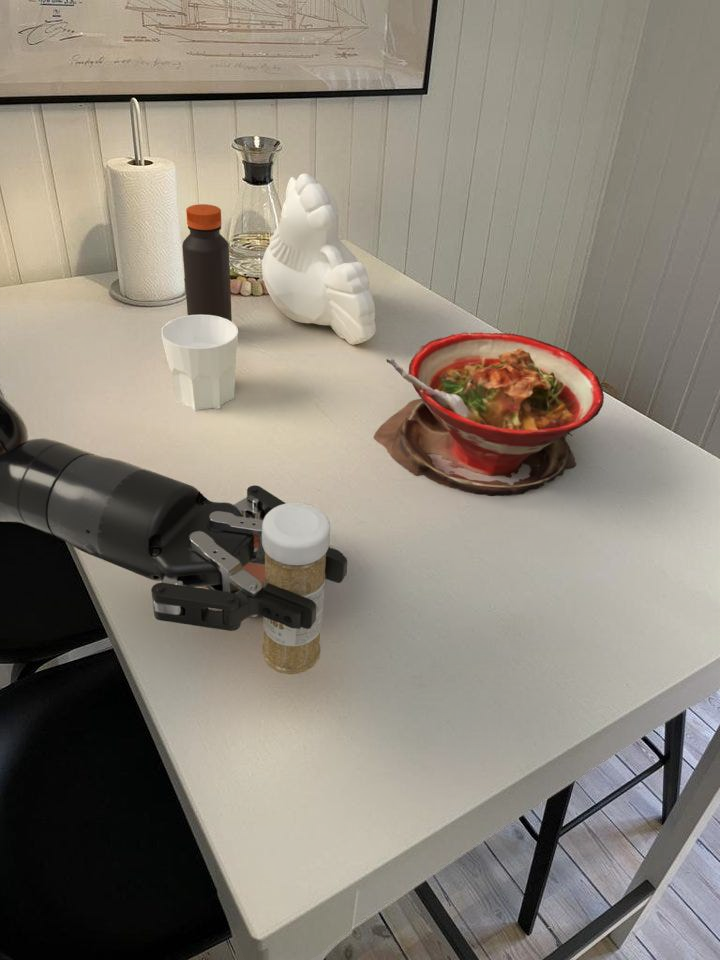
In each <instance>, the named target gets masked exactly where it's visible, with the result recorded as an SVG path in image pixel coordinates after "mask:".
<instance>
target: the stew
mask: <svg viewBox="0 0 720 960" xmlns="http://www.w3.org/2000/svg"><path fill="white" fill-rule="evenodd" d="M386 363H388V364H390V365H391V366H392V367H393V368H394V370H395V371H396V372H397V373H399V374H400V376H401V377H402V378H403V379H404V380H406V381H407V382H408V383H410V384H411V385H412V386H413V388H414V390H415V392H416V393H417V394H418V396H419V398H418V399H413V400H411V401H409V402H408V403H407V404H406V405H405V406H404V407H403V408H401V409H400V410H399V411H397V412H396V413H394V414H393V415H392V416H390V417H389V418H388V419H387V420H386V421H385V422H383V423H382V424H381V425H380V426H379V427H378V429H377V430H375V433H374V436H373V439H374V440H375V441H376V442H378V443H379V444H381V445H382V446H383V447H384V448H385V449H386V452H387V453H388V454H389V455H390V456H391V458H392V459H393V460H394V461H395V462H396V463H397V464H398V465H400V466H401V467H402V468H404V469H405V470H407V471H408V472H410V473H411V474H412V475H415V476H416V477H418V476H424V477H425V478H428V480H431V481H433V482H435V483H437V484H439V485H443V486H445V487H448V488H453V489H455V490H460V491H462V492H465V493H470V494H474V495H484V496H489V497H494V496H500V497H503V496H513V495H514V496H515V495H523V494H526V493H527V492H529V491H532V490H538V489H540V488H541V487H543V486H544V485H545V484H547V483H550V482H553V481H554V480H555V479H556V478H557V477H561V476H563V475H564V474H565V470H569V469H574V468H575V467H576V466H577V461H576V458H575V456H574V453H573V452H572V449H571V446H570V445H569V443H568V441H567V439H566V437H568V435H570V436H571V437H573V434H571V432H573V431H575V430H578V429H579V428H581V427H583V426H585V425H586V424H588V423H589V422H591V421H592V420H594V418H595V417H597V416H598V414H599V413H600V411H601V409H602V408H603V405H604V402H605V401H604V399H605V394H604V390H603V387H602V385H601V382H600V379H599V378H598V376H597V375H596V374H595V373H594V372H593V370H591V369H590V368H589V367H588V366H587V364H584V363H583V362H582V361H581V360H580V359H579V358H577V357H576V355H574V354H572V353H571V352H570V351H567V350H565V349H563V348H561V347H558V346H556V345H553V344H550V343H549V342H545V341H541V340H539V339H535V338H533V337H529V336H524V335H522V334H515V333H507V332H505V333H503V332H500V333H499V332H493V333H491V332H461V333H456V334H449V335H448V336H445V337H439V338H435V339H433V340H430V341H428V342H427V343H426V344H424V345H420V347H419V349H418V350H417V351H416V353H414V355H413V357H412V359H411V360H410V362H409V365H408V372H406V371H404V369H403V367H401V366H399V365H398V363H397V362H396V360H395V359H388V358H386ZM430 454H436V455H440V456H441V459H443V460H449V461H450V463H448V466H449V467H451V468H453V469H457V468H464V469H466V470H469V471H471V472H474V473H478V474H481V475H486V476H489V477H490V476H491V477H499V476H500V477H505V478H509V479H511V478H512V477H513V475H512V474H516V475H517V474H519V471H520V469H521V468H522V467H523V465H528V466H529V467H530V471H529V473H528V477H525V478H523V479H522V478H519V479H518V481H513V483H512V484H510V483H509V482H506V481H501V480H498V479H495V480H491V481H490V480H489V481H487V480H478V479H471V478H470V479H469V478H467V477H465V476H464V475H460V474H456V473H455V471H453V470H450V471H448V472H449V473H447V472H445V471H444V470H443V469H442V468H438V467H437V466H436V464H435V463H434V462H433V461H435V462H436V461H438V459H436V458H432V457H431V456H430Z"/></svg>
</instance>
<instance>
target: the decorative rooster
mask: <svg viewBox="0 0 720 960" xmlns="http://www.w3.org/2000/svg"><path fill="white" fill-rule="evenodd" d="M280 212H281V214H280V218H279V224H278V225H277V226H276V228H275V229H274V230H273V234H272V235H271V236H270V237H269V244H268V246H267V247H266V249H265V251H264V254H263V257H262V260H261V275H262V280H263V284H264V286H265V288H266V291H267V293H268V295H269V296H270V298H271V300H272V302H273V303H274V305H275V306H276V308H277V309H278V310H279V311H280V312H281V313H282V314H284V315H285V316H286V317H287V318H289V319H290V320H292V321H295V322H298V323H302V324H313V325H314V324H315V325H320V326H330V328H331V329H332V330H333V332H334V333H335V334H336V335H337V336H338V337H339V338H341V339H343V340H345V341H346V342H347V343H348V344H350V345H351V346H355V345H358V344H362V343H365V342H366V341H369V340H370V339H371V338H373V336H374V335H375V333H376V331H377V325H376V321H375V320H376V319H375V318H376V304H375V301H374V297H373V294H372V291H371V289H370V279H369V276H368V271H367V269H366V266H365V265H364V264H363V263H362V262H360V261H359V260H358V258H357V257H356V255H354V253H353V252H352V251H351V250H350V249H349V248H348V247H347V246H346V245H345V244H344V242H342V240H340V237H339V215H340V214H339V213H340V212H339V206H338V202H337V200H336V199H335V196H334V195H333V193H332V192H331V191H329V189H327V188H326V187H324V186H323V184H321V183H319V182H318V180H317V179H316V178H315V177H314V176H312V175H310V174H309V173H307V172H304V173H301V174H300V175H299V176H298V177H297V178H296V177H295V176H291V177H290V178H289V180H288V183H287V185H286V189H285V200H284V202H283V205H282V207H281V211H280Z"/></svg>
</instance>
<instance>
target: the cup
mask: <svg viewBox="0 0 720 960" xmlns="http://www.w3.org/2000/svg"><path fill="white" fill-rule="evenodd" d="M160 334H161V340H162V344H163V348H164V352H165V356H166V361H167V365H168V368H169V371H170V375H171V380H172V387H173V392H174V398H175V403H176V405H183V406H185V407H188V408H190V409H192V410H193V411H194V412H197V411H200V410H208V409H214V410H215V409H216V410H220V409H221V407H222V406H223V405H225V404H226V403H227V402H229V401H233V400H235V384H236V383H235V382H236V367H237V366H236V365H237V364H236V363H237V352H238V341H239V329H238V326H237V325H236V324H235V323H234V322H233V321H232V322H231V321H229V320H228V319H225V318H222V317H218V316H213V315H189V316H188V315H183V316H179V317H176V318H174V319H173V318H172V319H171V320H170V321H169V320H168V321H167V322H166V323H165V324H164V325H163V326H162V328H161V329H160Z"/></svg>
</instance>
